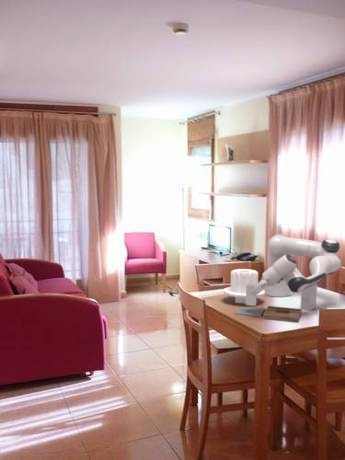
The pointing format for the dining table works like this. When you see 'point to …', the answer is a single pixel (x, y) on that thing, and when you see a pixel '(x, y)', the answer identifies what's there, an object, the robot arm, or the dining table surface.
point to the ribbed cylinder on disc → (242, 284)
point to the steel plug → (250, 299)
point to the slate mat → (250, 311)
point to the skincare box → (309, 298)
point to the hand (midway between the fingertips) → (251, 293)
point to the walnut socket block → (282, 314)
